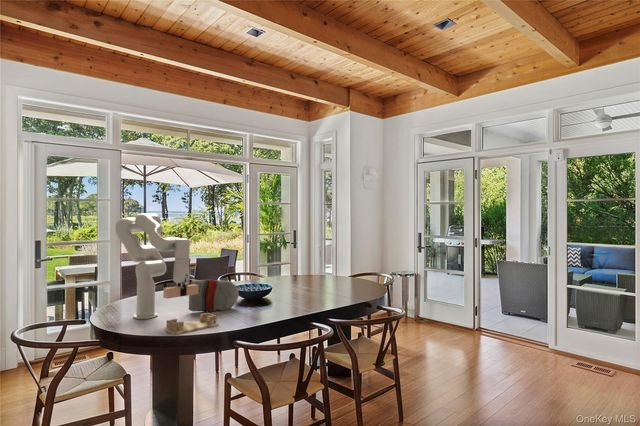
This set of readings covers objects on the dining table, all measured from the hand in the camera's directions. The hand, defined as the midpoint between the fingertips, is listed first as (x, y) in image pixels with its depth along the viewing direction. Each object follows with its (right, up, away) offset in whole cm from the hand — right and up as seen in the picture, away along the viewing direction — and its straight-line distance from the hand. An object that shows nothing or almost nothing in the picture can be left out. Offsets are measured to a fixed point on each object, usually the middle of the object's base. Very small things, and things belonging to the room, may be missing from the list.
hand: (181, 294), depth 213 cm
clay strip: (0, 0, 0) cm, 0 cm away
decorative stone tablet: (+10, -16, +28) cm, 34 cm away
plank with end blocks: (+9, -15, -8) cm, 19 cm away
